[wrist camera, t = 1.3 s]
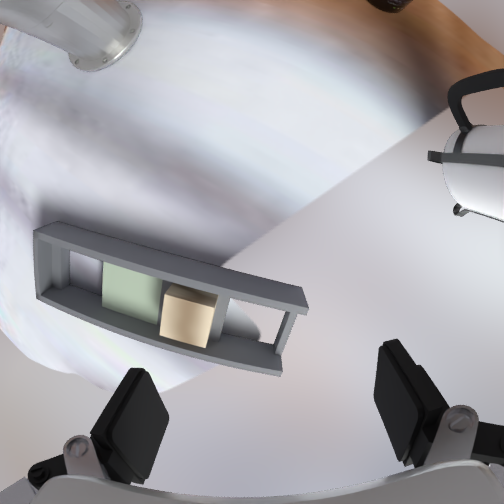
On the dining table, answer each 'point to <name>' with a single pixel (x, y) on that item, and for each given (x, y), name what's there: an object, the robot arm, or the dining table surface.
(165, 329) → the beech block
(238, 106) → the dining table surface
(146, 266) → the trap box
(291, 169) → the dining table surface
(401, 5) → the supplement bottle
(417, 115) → the dining table surface
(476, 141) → the coffee press
